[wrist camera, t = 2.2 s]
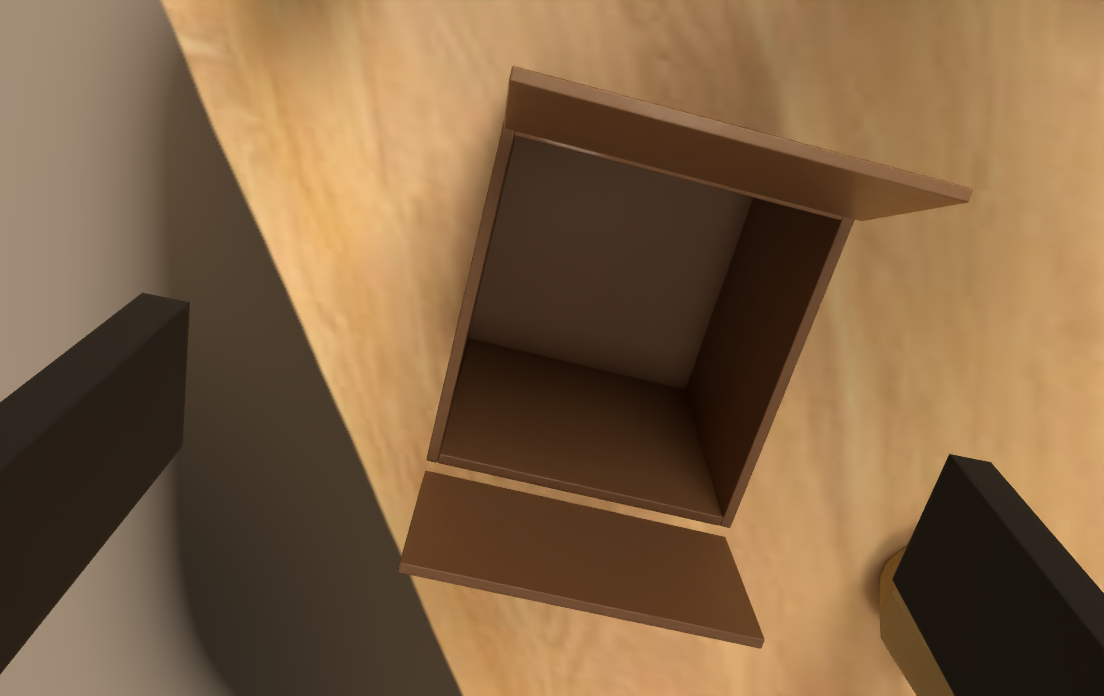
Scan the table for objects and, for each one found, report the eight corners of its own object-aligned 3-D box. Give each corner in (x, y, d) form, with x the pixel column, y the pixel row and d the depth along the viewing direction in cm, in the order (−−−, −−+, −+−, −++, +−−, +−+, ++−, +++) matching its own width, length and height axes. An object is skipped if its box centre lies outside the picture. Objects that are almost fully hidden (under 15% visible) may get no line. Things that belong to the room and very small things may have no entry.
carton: (519, 77, 41) (489, 159, 24) (778, 146, 42) (933, 272, 25) (455, 354, 47) (392, 586, 29) (685, 408, 48) (757, 662, 30)
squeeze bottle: (833, 602, 53) (955, 886, 37) (909, 500, 50) (1080, 759, 34) (943, 647, 55) (1108, 941, 38) (1024, 551, 52) (1241, 824, 35)
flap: (503, 128, 29) (505, 116, 29) (861, 221, 30) (864, 210, 30) (508, 80, 22) (512, 65, 22) (969, 203, 24) (973, 188, 24)
